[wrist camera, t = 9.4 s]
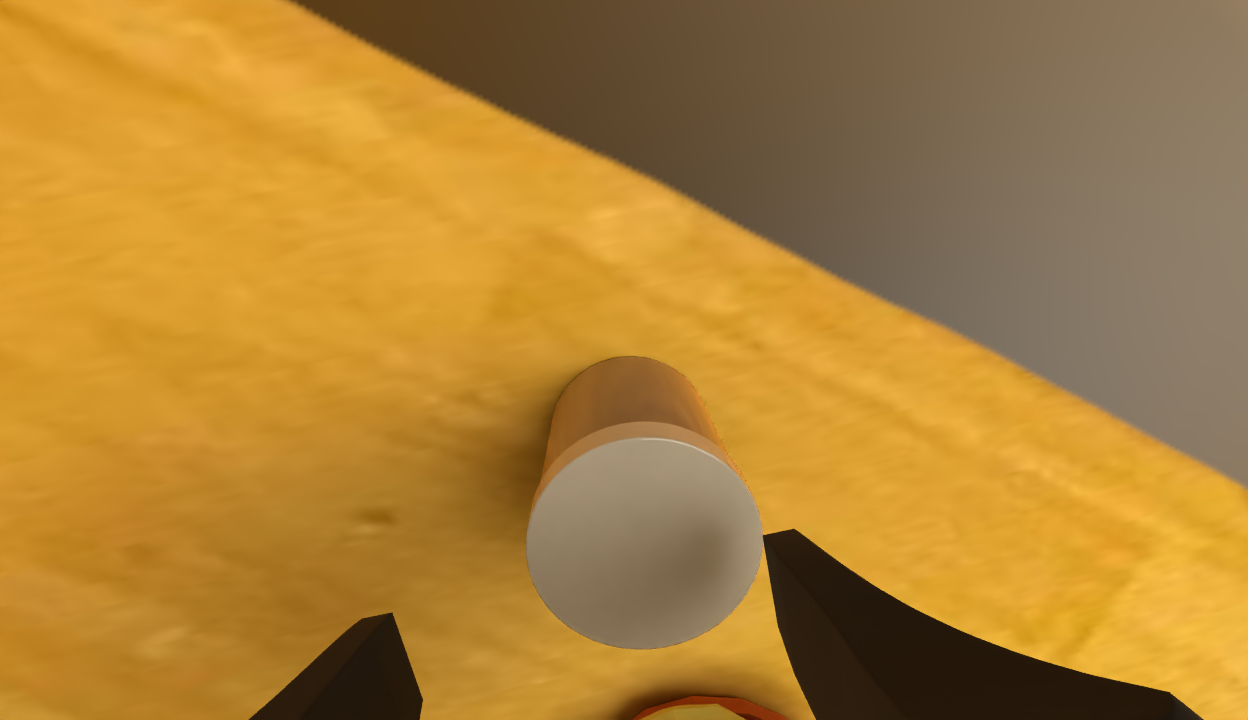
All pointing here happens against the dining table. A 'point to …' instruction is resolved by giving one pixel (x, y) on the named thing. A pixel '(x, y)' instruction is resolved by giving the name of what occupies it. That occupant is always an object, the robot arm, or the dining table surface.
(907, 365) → the dining table surface
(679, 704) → the cheeseburger
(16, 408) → the dining table surface
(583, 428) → the spice jar
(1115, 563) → the dining table surface
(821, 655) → the robot arm
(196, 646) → the dining table surface
